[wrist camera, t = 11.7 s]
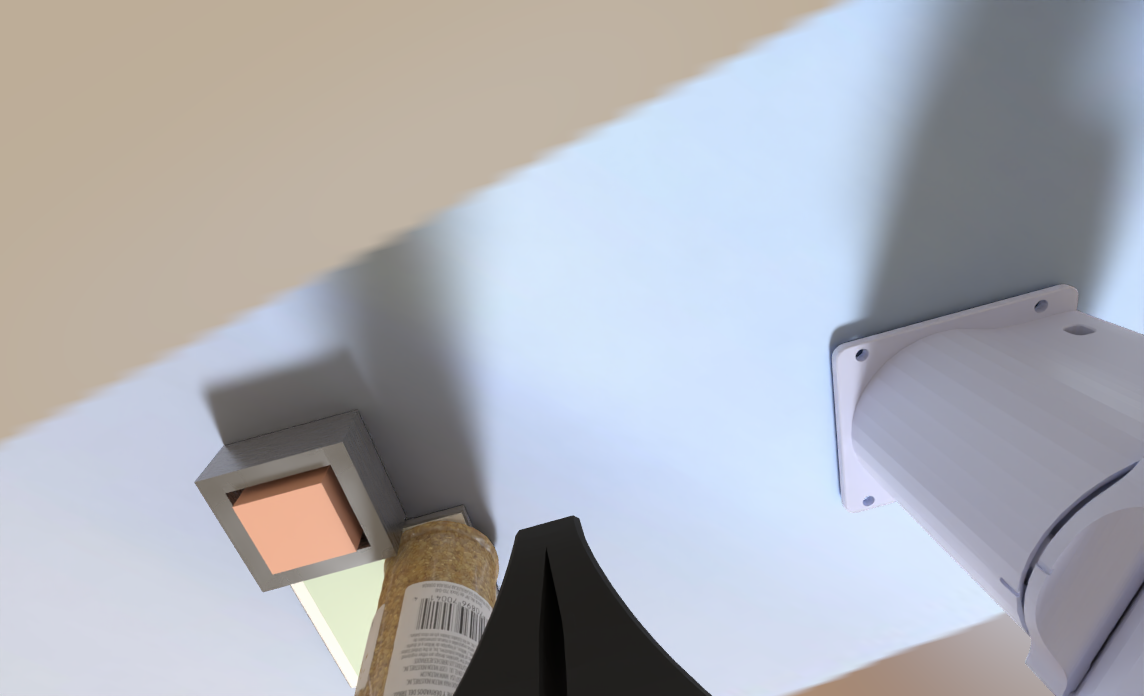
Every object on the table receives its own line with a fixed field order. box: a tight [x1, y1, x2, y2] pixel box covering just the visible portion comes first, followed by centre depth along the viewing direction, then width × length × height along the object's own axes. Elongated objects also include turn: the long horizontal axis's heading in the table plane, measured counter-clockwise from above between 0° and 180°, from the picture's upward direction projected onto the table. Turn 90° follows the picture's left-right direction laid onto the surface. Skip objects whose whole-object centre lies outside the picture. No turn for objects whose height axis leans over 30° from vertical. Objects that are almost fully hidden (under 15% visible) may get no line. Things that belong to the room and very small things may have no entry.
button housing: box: [195, 410, 406, 592], centre depth 21 cm, size 5×5×2 cm
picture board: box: [290, 505, 499, 688], centre depth 25 cm, size 8×8×1 cm
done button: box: [232, 465, 363, 574], centre depth 21 cm, size 3×3×2 cm
